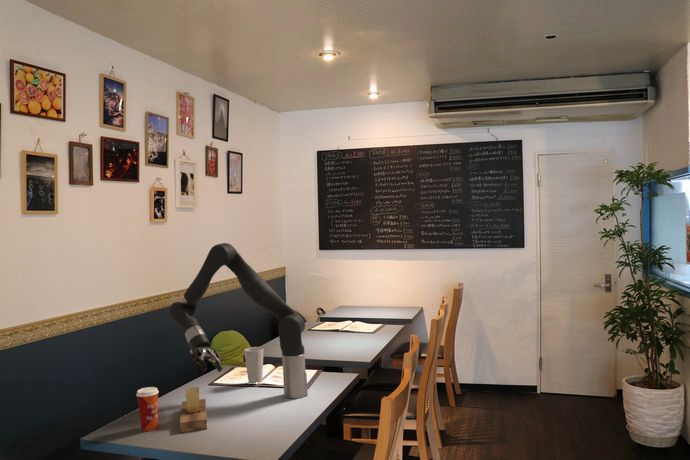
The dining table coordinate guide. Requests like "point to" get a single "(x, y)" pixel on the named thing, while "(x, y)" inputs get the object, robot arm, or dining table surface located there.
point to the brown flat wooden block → (193, 418)
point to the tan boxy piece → (192, 400)
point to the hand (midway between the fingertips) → (213, 370)
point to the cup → (254, 364)
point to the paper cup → (148, 408)
